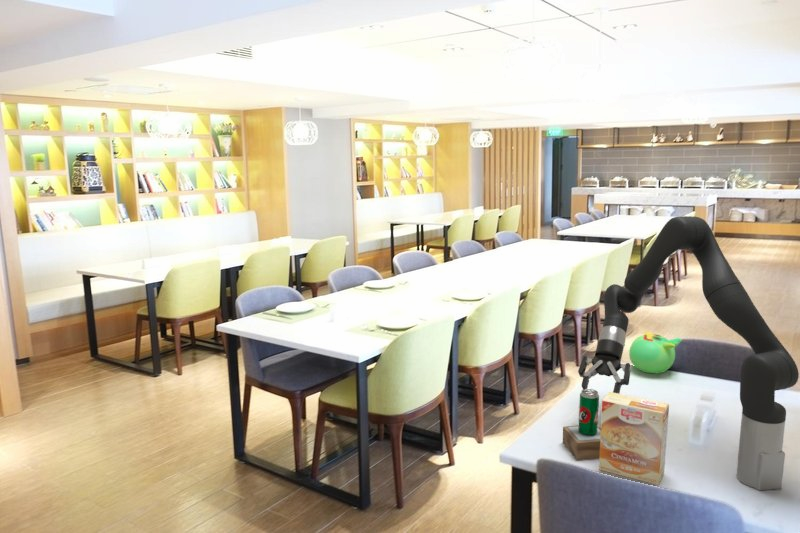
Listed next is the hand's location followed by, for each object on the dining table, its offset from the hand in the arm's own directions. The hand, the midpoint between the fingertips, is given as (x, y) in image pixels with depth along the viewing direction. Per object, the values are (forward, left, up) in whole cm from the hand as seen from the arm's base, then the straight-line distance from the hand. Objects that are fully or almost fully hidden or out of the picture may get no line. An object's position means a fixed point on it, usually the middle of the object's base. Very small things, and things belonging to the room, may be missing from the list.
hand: (599, 392), depth 177 cm
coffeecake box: (-22, +1, -13) cm, 25 cm away
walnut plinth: (-9, +7, -13) cm, 17 cm away
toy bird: (+44, -43, -13) cm, 63 cm away
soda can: (-9, +7, -8) cm, 14 cm away
